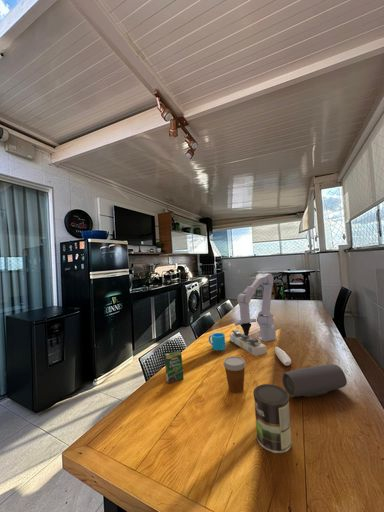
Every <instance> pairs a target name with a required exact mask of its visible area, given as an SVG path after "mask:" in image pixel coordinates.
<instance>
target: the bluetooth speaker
mask: <svg viewBox="0 0 384 512" xmlns="http://www.w3.org/2000/svg"><path fill="white" fill-rule="evenodd" d="M281 381H282V385H283V389H284V390H285V391H286V392H287V393H288V395H289V397H293V398H294V397H305V398H310V397H317V396H322V395H326V394H328V392H331V391H334V390H338V389H342V388H343V387H346V386H347V384H348V383H347V382H348V381H347V377H346V374H345V372H344V370H343V369H342V368H341V366H339V365H337V364H324V365H316V366H315V365H314V366H309V367H305V368H299V369H294V370H290V371H285V372H284V373H282V379H281Z"/></svg>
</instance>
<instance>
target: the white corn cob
mask: <svg viewBox="0 0 384 512" xmlns="http://www.w3.org/2000/svg"><path fill="white" fill-rule="evenodd" d="M274 353H275V355H276V356H277V358H278V359H279V360H280V362H281V363H282V364H283V365H284V366H285V367H286V366H290V365H291V364H292V359H291V357H290V356H289V355H288V354H287V352H286V351H284V350H283V349H281V348H280V347H279V346H275V348H274Z"/></svg>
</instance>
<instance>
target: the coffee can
mask: <svg viewBox="0 0 384 512" xmlns="http://www.w3.org/2000/svg"><path fill="white" fill-rule="evenodd" d="M252 393H253V398H254V399H253V400H254V412H255V414H254V415H255V429H256V440H257V443H258V444H259V445H260V446H261V447H262V448H263V449H265V450H266V451H267V452H270V453H272V454H283V453H284V454H285V453H287V452H288V451H290V449H291V448H292V445H293V444H292V443H293V442H292V434H291V420H290V419H291V417H290V402H289V400H290V395H289V394H288V393H287V392H286V390H285V388H284V387H283V388H282V387H280V386H278V385H275V384H270V383H268V384H267V383H266V384H265V383H264V384H259V385H257V386H256V387H254V389H253V391H252Z"/></svg>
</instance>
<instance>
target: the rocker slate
mask: <svg viewBox="0 0 384 512" xmlns="http://www.w3.org/2000/svg"><path fill="white" fill-rule="evenodd" d="M248 342H250V343H257V342H260V341H259V339H257V338H252V339H249V340H248Z"/></svg>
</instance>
